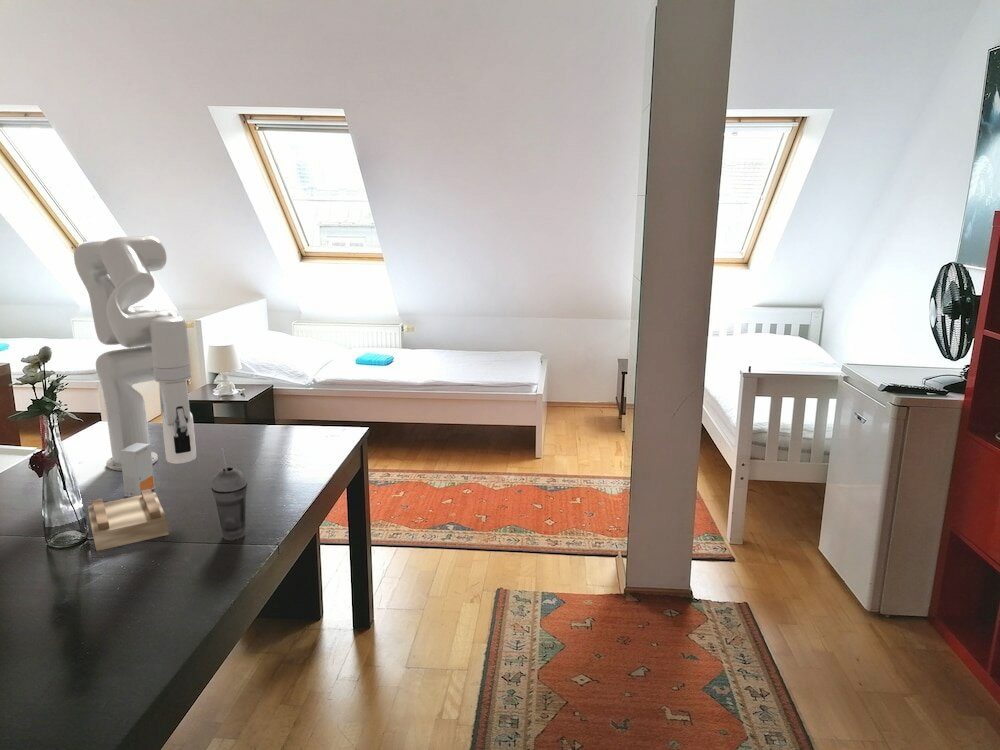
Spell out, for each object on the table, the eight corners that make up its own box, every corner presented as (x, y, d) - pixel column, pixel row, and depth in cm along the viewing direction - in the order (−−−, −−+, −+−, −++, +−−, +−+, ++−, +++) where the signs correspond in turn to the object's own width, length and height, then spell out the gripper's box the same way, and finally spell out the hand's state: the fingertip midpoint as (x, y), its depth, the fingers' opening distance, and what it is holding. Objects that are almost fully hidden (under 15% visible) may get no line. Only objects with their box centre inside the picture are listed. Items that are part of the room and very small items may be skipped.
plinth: (89, 522, 166) (86, 499, 164) (157, 508, 173) (154, 486, 172) (96, 551, 153) (92, 527, 151) (168, 534, 160) (165, 511, 159)
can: (167, 466, 165) (161, 416, 162) (165, 456, 171) (160, 408, 167) (198, 462, 168) (193, 412, 165) (195, 452, 174) (190, 404, 170)
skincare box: (140, 498, 178) (134, 452, 175) (124, 496, 179) (118, 450, 176) (156, 488, 184) (150, 443, 181) (141, 487, 185) (135, 442, 182)
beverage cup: (231, 546, 155) (222, 457, 150) (209, 537, 159) (200, 451, 154) (258, 533, 161) (251, 447, 156) (236, 525, 165) (229, 441, 160)
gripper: (148, 365, 169) (156, 438, 174) (160, 384, 155) (169, 463, 160) (183, 361, 173) (190, 432, 178) (198, 379, 159) (205, 456, 164)
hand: (180, 446), depth 169 cm, fingers closed on can, 6 cm apart
